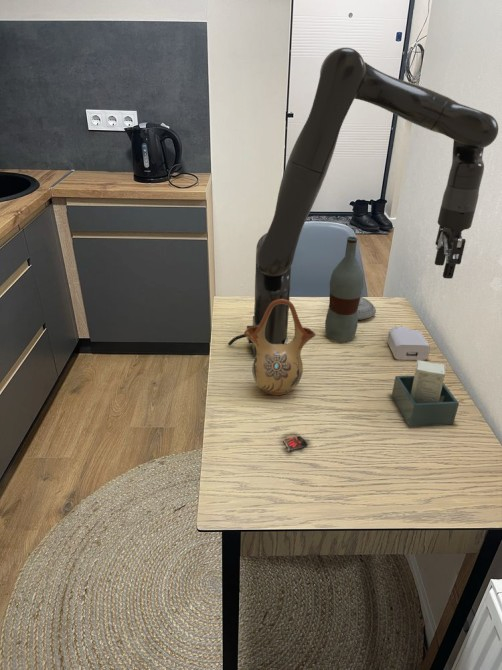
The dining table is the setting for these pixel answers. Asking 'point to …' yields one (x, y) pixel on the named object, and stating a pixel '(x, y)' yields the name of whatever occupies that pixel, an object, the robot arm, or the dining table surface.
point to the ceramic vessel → (278, 355)
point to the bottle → (344, 296)
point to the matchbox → (294, 442)
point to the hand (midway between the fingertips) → (442, 271)
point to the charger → (408, 344)
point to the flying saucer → (365, 309)
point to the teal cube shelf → (423, 405)
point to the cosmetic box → (428, 382)
